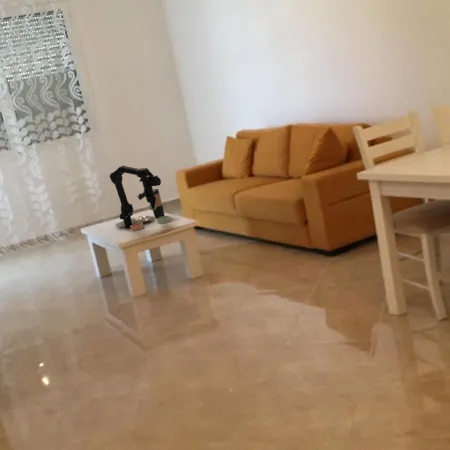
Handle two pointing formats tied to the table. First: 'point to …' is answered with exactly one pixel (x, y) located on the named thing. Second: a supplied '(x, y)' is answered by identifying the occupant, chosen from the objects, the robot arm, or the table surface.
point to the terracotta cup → (136, 226)
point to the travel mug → (158, 205)
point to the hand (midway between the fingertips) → (153, 208)
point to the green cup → (163, 219)
